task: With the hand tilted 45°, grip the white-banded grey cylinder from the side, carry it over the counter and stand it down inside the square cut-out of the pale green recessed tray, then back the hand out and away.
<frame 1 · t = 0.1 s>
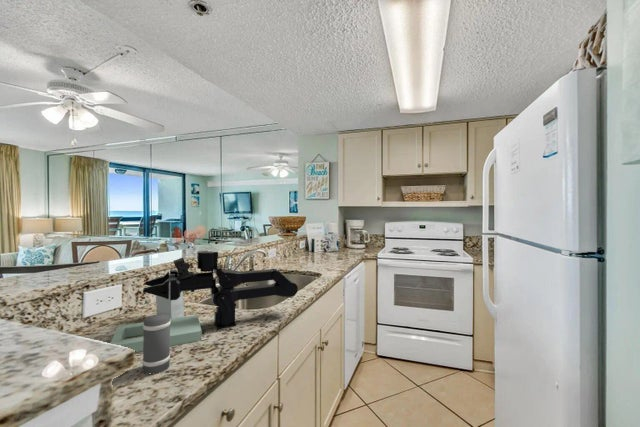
hand: (144, 286, 91), 17 cm above the counter, fingers open, 9 cm apart
skincare box: (169, 319, 108), on the counter
white-banded grey cylinder: (156, 367, 74), on the counter
pale green recessed tray: (159, 337, 92), on the counter
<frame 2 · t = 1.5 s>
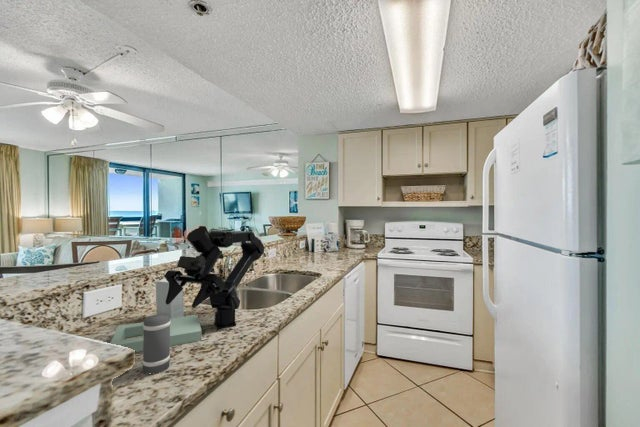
hand: (179, 305, 82), 14 cm above the counter, fingers open, 9 cm apart
nothing on the counter moved.
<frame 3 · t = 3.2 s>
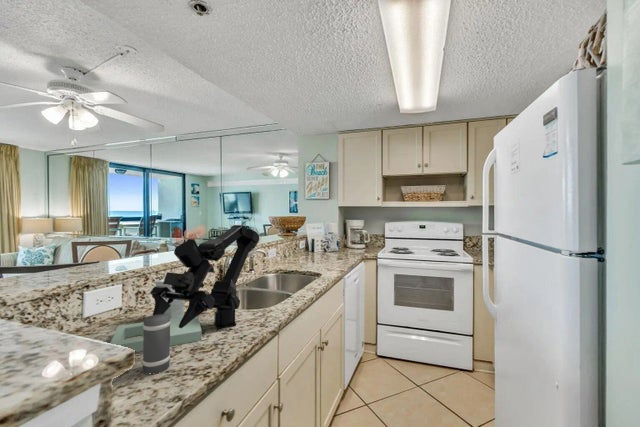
hand: (165, 325, 77), 10 cm above the counter, fingers open, 9 cm apart
nothing on the counter moved.
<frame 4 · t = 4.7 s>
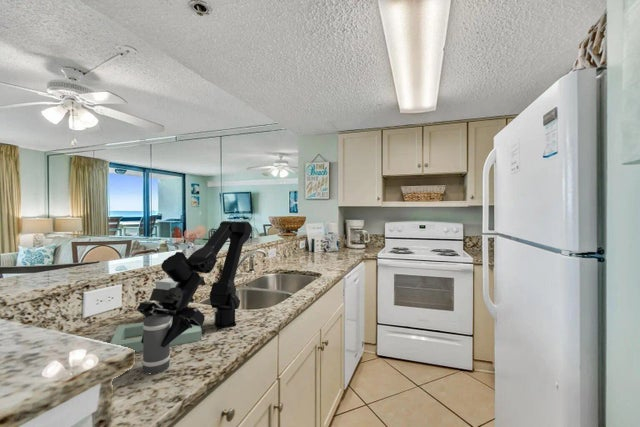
hand: (152, 345, 73), 7 cm above the counter, fingers closed on white-banded grey cylinder, 6 cm apart
white-banded grey cylinder: (156, 367, 74), on the counter, touching gripper
everything else where it was.
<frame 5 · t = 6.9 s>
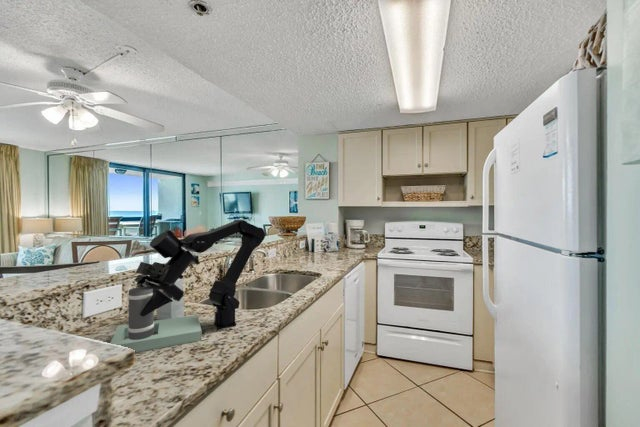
hand: (136, 313, 79), 12 cm above the counter, fingers closed on white-banded grey cylinder, 6 cm apart
white-banded grey cylinder: (141, 335, 80), point 6 cm above the counter, touching gripper
everything else where it was.
when the fingers open (8 cm above the counter, at t = 9.2 s): white-banded grey cylinder drops 1 cm, resting in pale green recessed tray.
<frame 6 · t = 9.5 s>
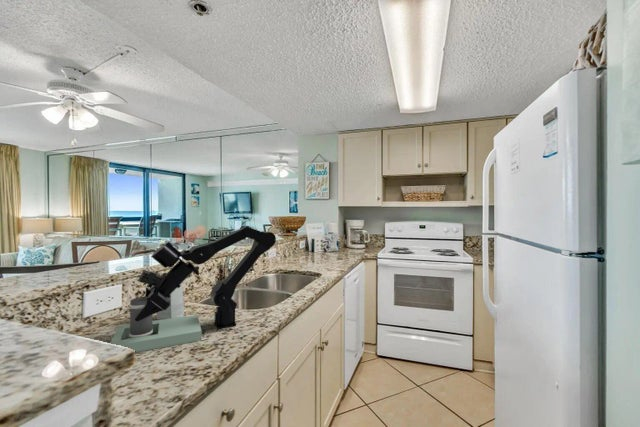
hand: (135, 315, 89), 8 cm above the counter, fingers open, 8 cm apart
white-banded grey cylinder: (141, 340, 89), resting in pale green recessed tray
everything else where it was.
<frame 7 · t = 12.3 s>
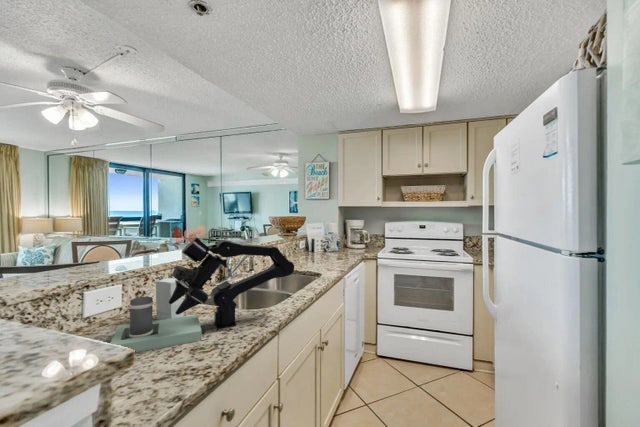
hand: (172, 308, 94), 9 cm above the counter, fingers open, 9 cm apart
nothing on the counter moved.
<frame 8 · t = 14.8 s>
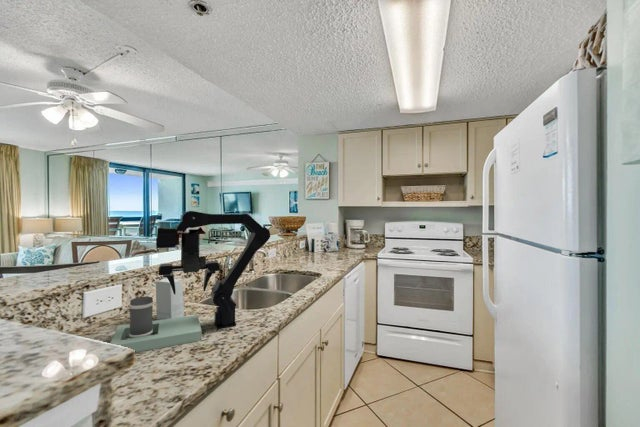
hand: (189, 292, 98), 13 cm above the counter, fingers open, 9 cm apart
nothing on the counter moved.
at the end: white-banded grey cylinder 0.1 cm from the target spot on the pale green recessed tray, point 0.0 cm above the pale green recessed tray's base; white-banded grey cylinder tilted 0°; the gripper is holding nothing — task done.
